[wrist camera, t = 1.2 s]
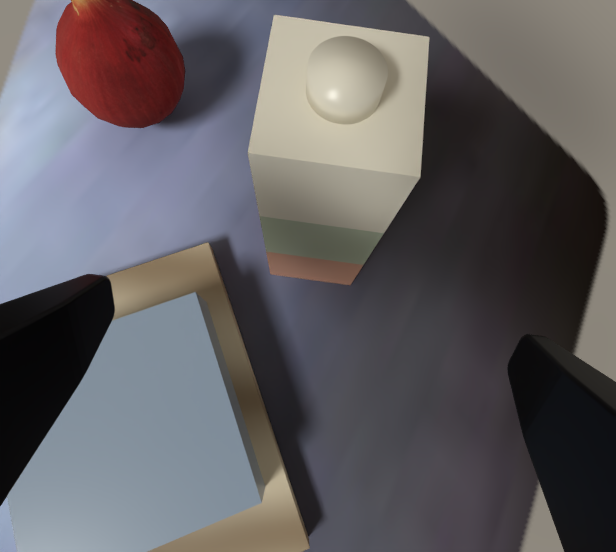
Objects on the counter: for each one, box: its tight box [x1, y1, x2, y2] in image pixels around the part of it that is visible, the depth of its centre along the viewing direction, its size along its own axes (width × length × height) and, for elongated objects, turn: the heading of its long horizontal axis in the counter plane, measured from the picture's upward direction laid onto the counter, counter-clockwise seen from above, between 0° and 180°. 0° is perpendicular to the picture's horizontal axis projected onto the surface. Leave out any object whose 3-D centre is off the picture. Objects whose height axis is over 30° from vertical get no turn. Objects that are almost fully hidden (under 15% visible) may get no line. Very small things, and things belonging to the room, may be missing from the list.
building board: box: [107, 242, 310, 552], centre depth 19 cm, size 15×11×1 cm
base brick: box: [7, 292, 265, 552], centre depth 17 cm, size 9×9×2 cm
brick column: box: [248, 15, 429, 285], centre depth 16 cm, size 4×4×13 cm
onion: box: [56, 0, 185, 128], centre depth 20 cm, size 6×6×8 cm
